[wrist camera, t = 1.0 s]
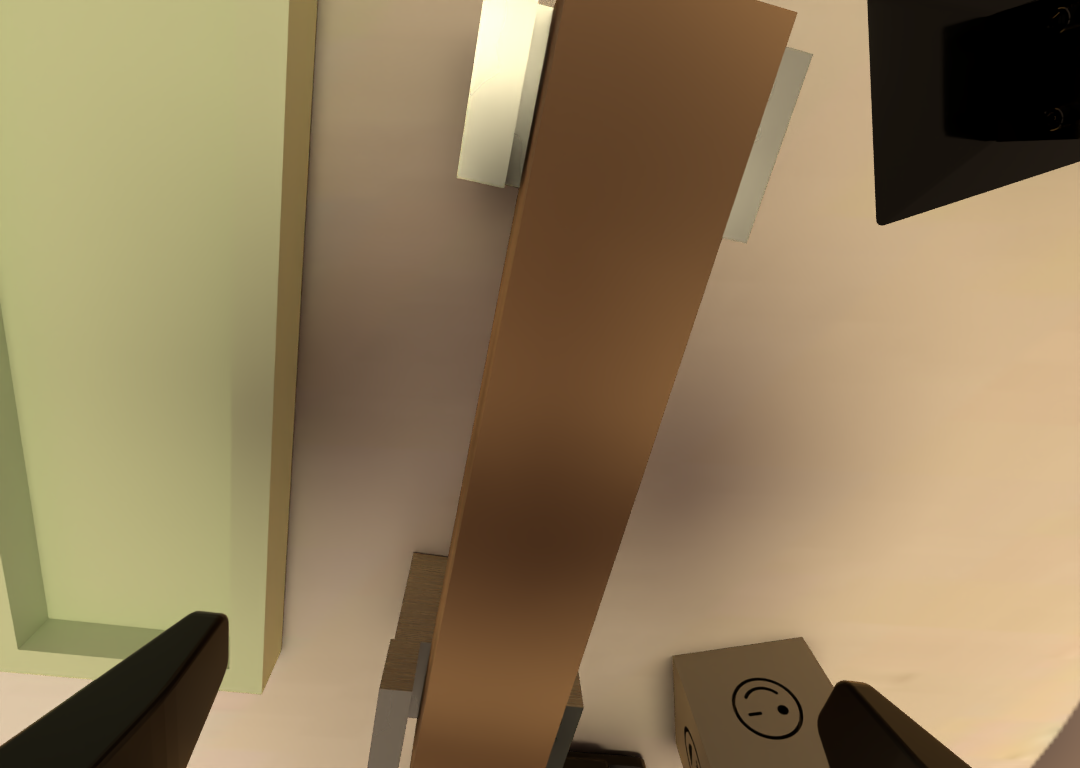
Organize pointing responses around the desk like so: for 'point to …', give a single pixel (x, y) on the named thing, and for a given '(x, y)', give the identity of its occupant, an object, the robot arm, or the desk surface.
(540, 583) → the rail
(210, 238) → the tray
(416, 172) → the desk surface
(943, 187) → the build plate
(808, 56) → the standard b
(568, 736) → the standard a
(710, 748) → the dice cube
